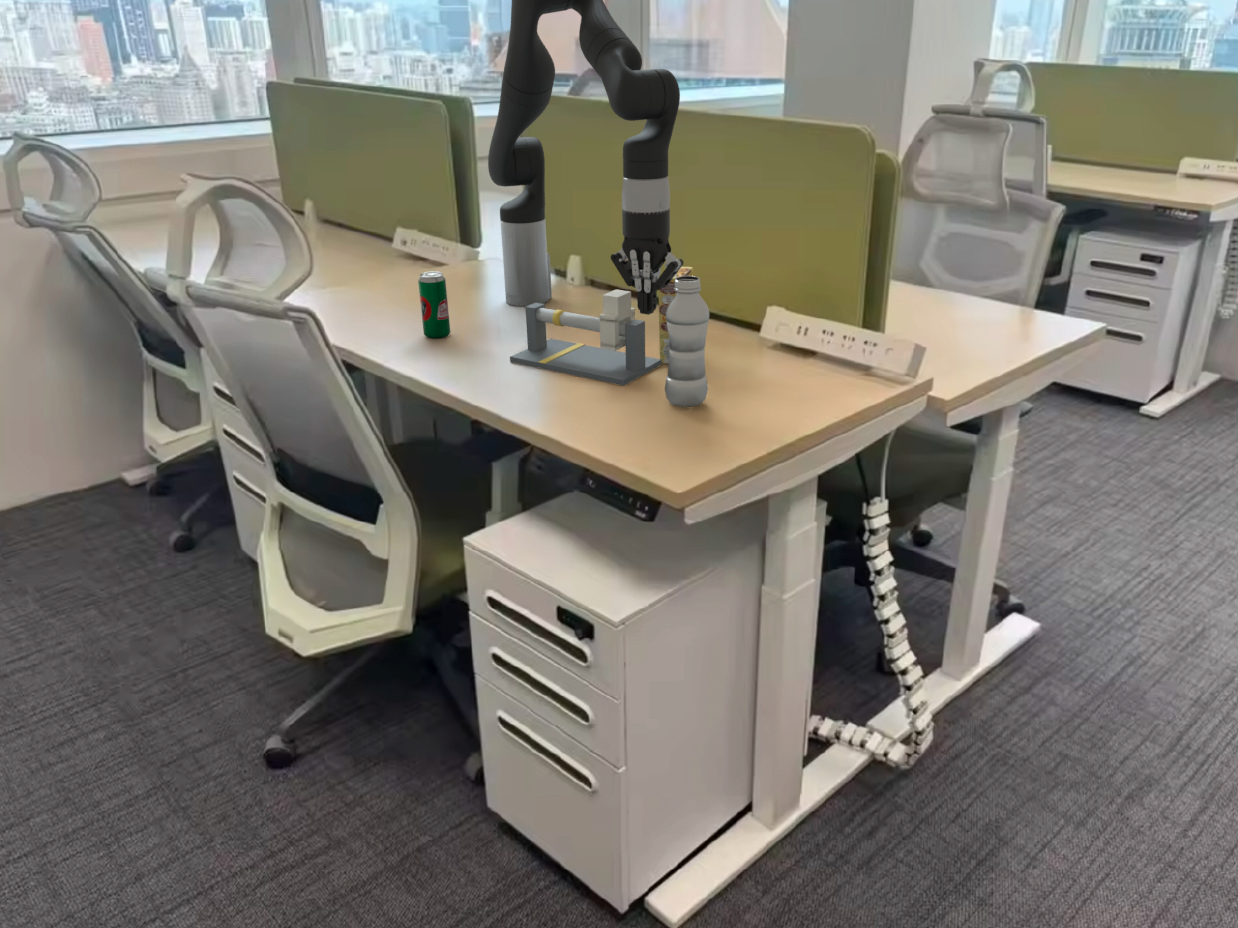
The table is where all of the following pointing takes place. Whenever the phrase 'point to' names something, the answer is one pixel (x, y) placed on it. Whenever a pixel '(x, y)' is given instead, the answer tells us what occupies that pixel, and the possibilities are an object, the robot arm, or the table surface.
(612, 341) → the collar
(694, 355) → the plastic bottle
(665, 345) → the candy box
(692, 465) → the table surface
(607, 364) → the rail stand
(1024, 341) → the table surface
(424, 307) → the soda can
